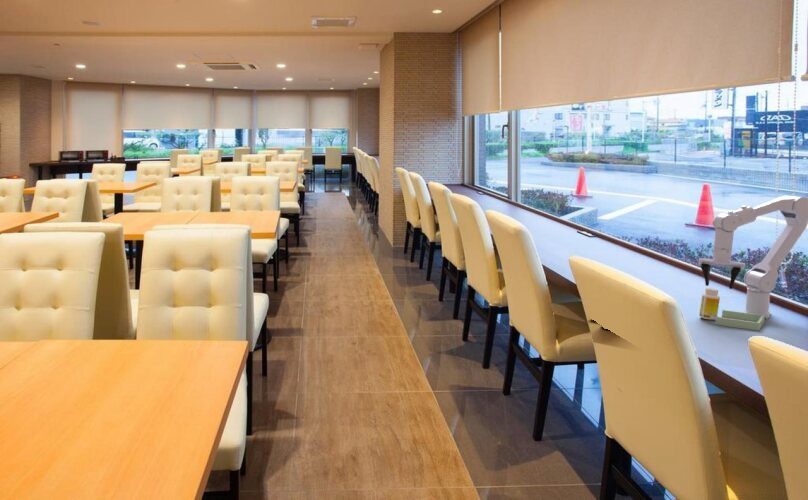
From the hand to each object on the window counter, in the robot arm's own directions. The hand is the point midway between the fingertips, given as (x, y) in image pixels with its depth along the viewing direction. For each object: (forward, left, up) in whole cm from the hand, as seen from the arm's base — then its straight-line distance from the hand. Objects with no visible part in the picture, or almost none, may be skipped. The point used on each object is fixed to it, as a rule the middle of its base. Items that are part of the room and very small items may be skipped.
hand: (718, 286), depth 229 cm
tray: (+7, +8, -10) cm, 15 cm away
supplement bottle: (+7, -2, -10) cm, 12 cm away
